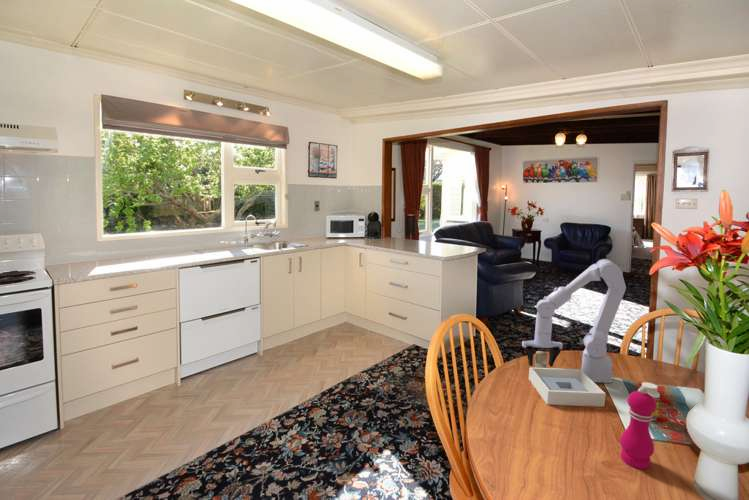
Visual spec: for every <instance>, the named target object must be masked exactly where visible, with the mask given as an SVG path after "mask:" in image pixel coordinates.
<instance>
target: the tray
mask: <svg viewBox="0 0 749 500" xmlns="http://www.w3.org/2000/svg"><path fill="white" fill-rule="evenodd" d="M528 370H529V371H528V381H531V382H530V384H532V386H533V388H536V389H535V390H536V391H537V393H538V394H539V395H540V397H541V398H542V399H543V401H544V403H545V404H546V405H554V406H578V407H579V406H580V407H605V404H606V403H605V402H606V395H607V394H606V392H605V391H604V390H602V388H601V387H600V386H599V385H597V384H596V382H593V381H592V380H591V379H590V378H589V377H588V376H587V375H585V374H584V373H583V372H582V371H581V369H580V368H557V367H556V368H555V367H546V368H535V367H532V366H529V368H528ZM541 377H553V378H576V379H577V380H578V381H579V382H580V383H581V384H582V385H583V386H584V387H585V388H586V389H587V390H588V391H589V392H584V391H557V390H549V389H548V387H547V386H546V385H545V384H544V382H543V381H542V380H541ZM561 389H570V388H561Z"/></svg>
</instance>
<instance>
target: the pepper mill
mask: <svg viewBox="0 0 749 500" xmlns="http://www.w3.org/2000/svg"><path fill="white" fill-rule="evenodd" d="M638 389H639V391H638V390H635V391H632V392H631V393H630V394H628V396H627V404H628V406H629V408H628V415H629V416H630V417H629V419H630V420H629V424H628V426H627V427H626V429H625V430H624V431H623V433H622V434H621V436H620V440H619V443H620V446H621V447H622V448H621V451H620V458H621V460H622V461H623V462H624V463H625V464H627V465H628V466H630V467H633V468H634V469H635V468H636V469H640V470H643V469H644V470H645V469H648V468H650V466H651V465H650V464H651V457H652V456H653V455H654V453H655V445H654V441H653V438H652V437H651V433H650V429H649V427H650V422H653V421H652V416H653V414H652V413H653V412H654V411H655V410H656V401H655V399H654V398H653V397H652V396H651V395H650V394H648V393H647V389H646V388H645V387H641V386H640V387H639V388H638Z"/></svg>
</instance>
